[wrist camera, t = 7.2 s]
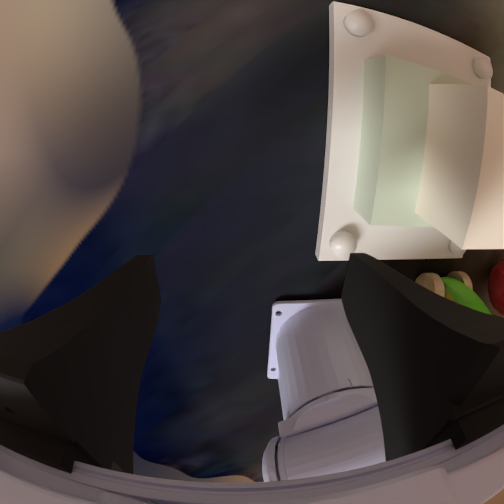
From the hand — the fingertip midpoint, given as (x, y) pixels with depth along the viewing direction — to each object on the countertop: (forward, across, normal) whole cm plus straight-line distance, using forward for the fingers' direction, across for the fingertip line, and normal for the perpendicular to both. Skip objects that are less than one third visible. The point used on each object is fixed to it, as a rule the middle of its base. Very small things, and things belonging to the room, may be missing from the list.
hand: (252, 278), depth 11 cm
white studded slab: (+10, -12, -5) cm, 16 cm away
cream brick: (+6, -12, -5) cm, 14 cm away
